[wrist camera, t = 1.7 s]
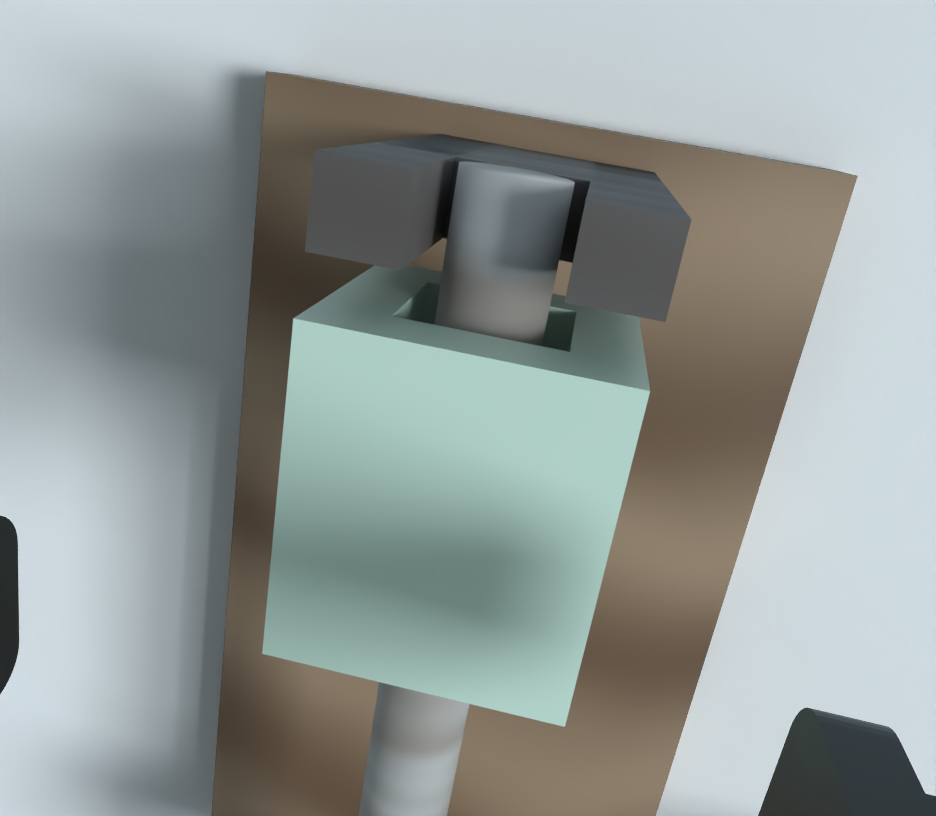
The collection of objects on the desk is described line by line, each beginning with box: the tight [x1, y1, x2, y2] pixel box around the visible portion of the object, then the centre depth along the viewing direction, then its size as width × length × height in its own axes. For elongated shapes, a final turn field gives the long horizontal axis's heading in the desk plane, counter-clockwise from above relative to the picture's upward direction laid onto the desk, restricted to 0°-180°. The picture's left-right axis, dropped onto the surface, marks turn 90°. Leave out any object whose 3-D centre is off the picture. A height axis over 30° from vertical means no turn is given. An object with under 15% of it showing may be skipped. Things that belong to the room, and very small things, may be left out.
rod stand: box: [212, 71, 857, 816], centre depth 18 cm, size 22×12×10 cm, turn 171°
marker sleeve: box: [262, 265, 650, 727], centre depth 13 cm, size 5×4×4 cm
